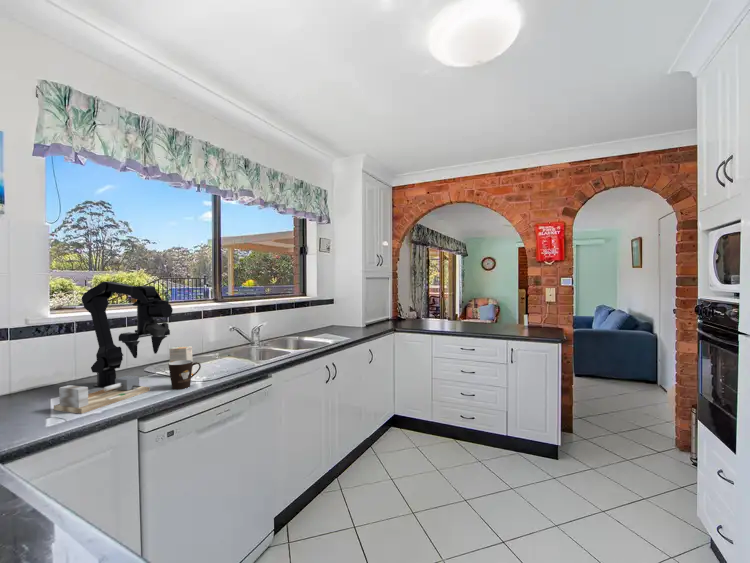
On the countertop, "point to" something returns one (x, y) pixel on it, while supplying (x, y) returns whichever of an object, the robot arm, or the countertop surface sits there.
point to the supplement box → (181, 354)
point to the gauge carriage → (124, 383)
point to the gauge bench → (92, 398)
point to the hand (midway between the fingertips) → (145, 355)
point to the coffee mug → (181, 373)
